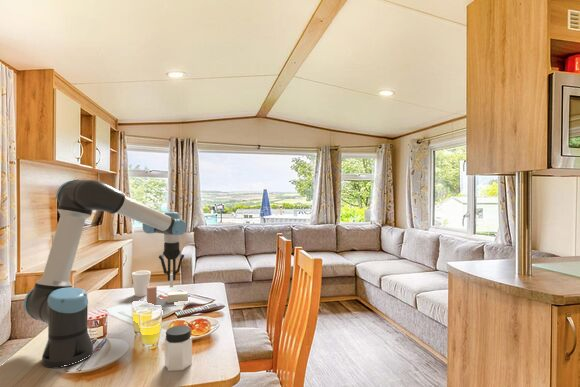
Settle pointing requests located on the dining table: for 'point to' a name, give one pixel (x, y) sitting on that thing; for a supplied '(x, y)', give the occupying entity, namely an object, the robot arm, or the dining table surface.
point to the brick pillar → (152, 294)
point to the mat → (165, 302)
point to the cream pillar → (177, 297)
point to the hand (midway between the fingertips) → (171, 286)
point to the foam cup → (141, 282)
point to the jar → (178, 348)
